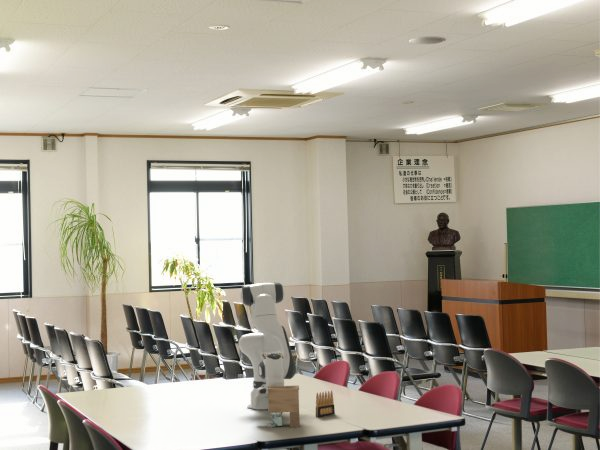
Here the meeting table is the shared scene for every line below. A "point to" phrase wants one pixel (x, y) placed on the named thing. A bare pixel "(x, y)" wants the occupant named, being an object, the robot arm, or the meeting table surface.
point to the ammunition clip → (324, 405)
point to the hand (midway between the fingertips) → (276, 418)
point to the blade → (277, 419)
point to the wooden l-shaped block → (285, 402)
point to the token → (271, 425)
